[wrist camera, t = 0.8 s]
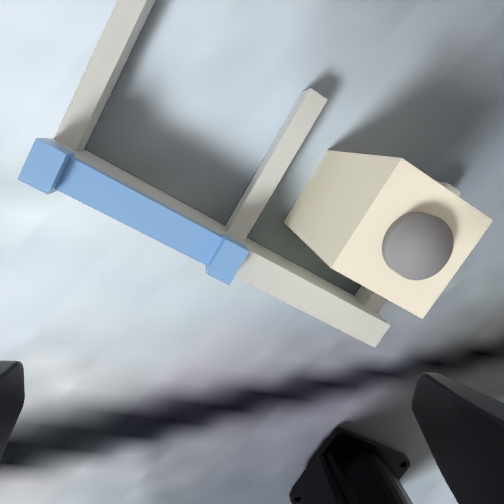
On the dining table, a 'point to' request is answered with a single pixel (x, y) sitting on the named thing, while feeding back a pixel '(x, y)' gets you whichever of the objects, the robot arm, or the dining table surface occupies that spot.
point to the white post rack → (181, 215)
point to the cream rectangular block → (386, 226)
